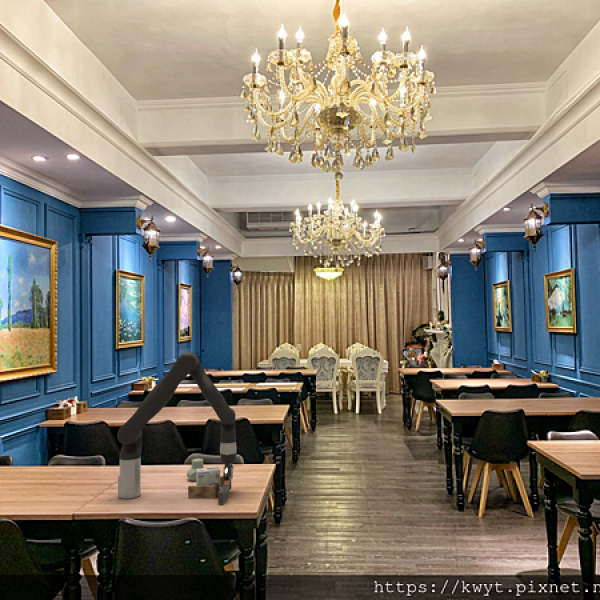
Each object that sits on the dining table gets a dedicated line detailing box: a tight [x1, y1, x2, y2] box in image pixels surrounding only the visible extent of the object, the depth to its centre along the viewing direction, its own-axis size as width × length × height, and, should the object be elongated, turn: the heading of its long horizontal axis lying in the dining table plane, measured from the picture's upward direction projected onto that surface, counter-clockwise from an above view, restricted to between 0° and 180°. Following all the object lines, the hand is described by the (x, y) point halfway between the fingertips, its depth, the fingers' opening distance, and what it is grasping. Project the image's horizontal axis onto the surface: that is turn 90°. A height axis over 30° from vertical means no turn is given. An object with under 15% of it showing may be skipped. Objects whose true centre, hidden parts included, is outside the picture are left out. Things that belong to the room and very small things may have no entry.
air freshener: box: [186, 458, 205, 482], centre depth 275 cm, size 11×8×10 cm
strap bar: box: [217, 480, 231, 505], centre depth 240 cm, size 2×14×6 cm, turn 176°
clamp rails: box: [187, 475, 224, 499], centre depth 252 cm, size 14×18×6 cm
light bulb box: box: [195, 466, 221, 490], centre depth 252 cm, size 11×7×11 cm, turn 108°
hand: (228, 489), depth 250 cm, fingers closed
